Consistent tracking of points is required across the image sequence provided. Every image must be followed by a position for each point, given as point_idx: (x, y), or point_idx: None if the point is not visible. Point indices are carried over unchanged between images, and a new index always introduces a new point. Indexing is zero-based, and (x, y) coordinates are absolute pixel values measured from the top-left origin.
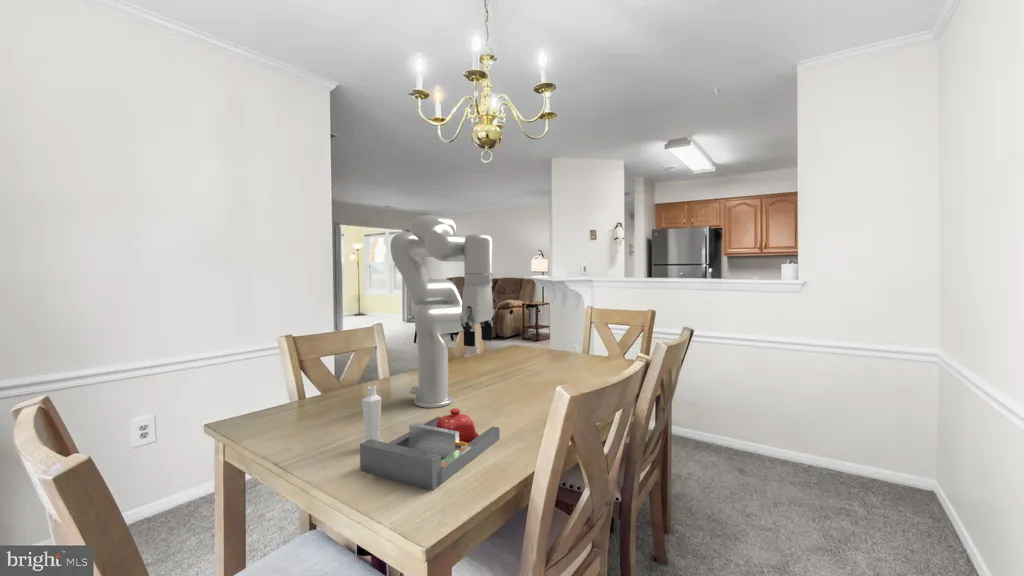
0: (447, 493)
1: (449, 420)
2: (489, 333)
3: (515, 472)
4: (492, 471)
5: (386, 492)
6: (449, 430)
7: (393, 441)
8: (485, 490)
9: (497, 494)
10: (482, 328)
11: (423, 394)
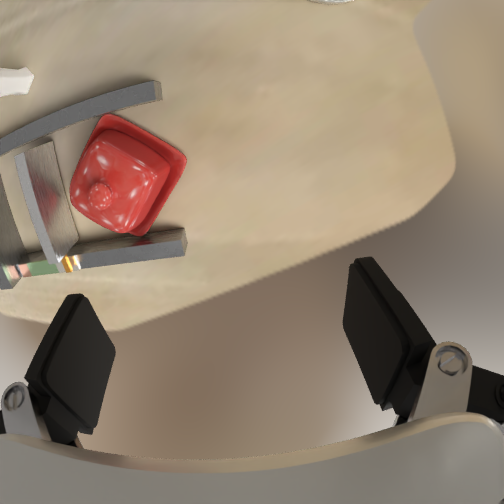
0: (29, 283)
1: (80, 199)
2: (360, 356)
3: (114, 320)
4: (93, 297)
5: None
6: (49, 244)
7: (12, 137)
8: None
9: None
10: (393, 338)
11: None
